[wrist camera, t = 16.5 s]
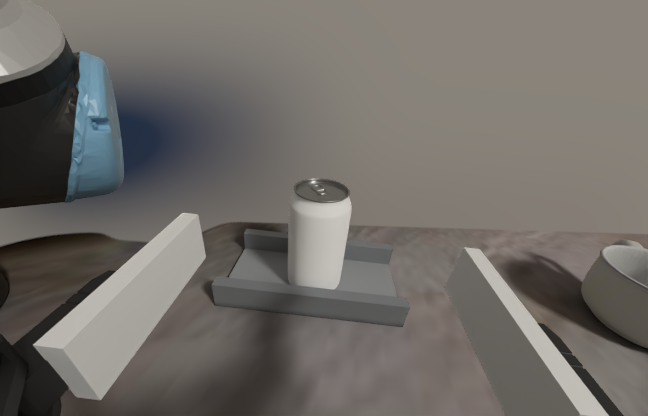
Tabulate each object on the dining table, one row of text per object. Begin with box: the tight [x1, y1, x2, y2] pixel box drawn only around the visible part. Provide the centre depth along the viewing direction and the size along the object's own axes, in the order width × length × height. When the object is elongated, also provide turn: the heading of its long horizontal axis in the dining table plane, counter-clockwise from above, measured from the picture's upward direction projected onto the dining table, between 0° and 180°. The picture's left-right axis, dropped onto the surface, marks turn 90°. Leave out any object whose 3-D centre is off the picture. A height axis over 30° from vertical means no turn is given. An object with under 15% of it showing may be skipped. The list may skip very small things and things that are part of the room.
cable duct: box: [211, 229, 410, 327], centre depth 30 cm, size 20×10×3 cm, turn 86°
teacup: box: [581, 240, 648, 348], centre depth 28 cm, size 14×11×8 cm
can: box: [288, 178, 351, 290], centre depth 27 cm, size 6×6×12 cm
